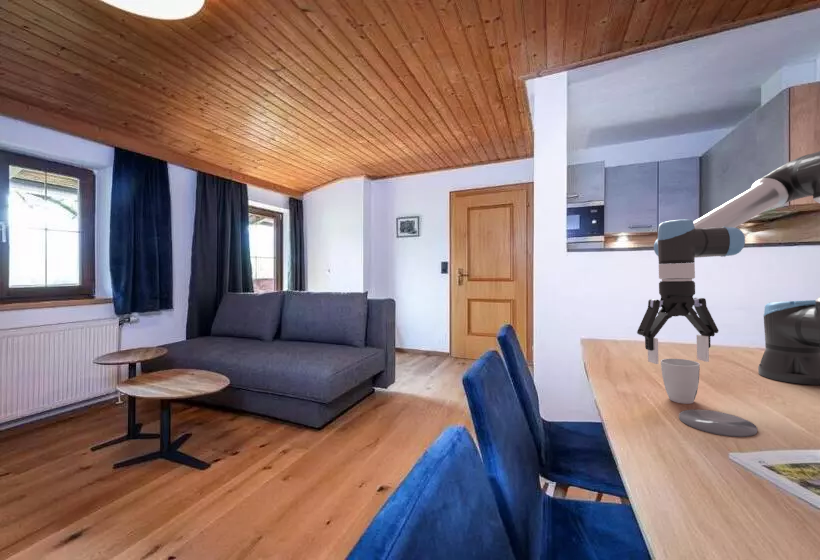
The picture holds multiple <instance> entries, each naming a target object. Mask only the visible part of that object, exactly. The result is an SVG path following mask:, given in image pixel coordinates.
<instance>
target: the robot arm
mask: <svg viewBox="0 0 820 560" xmlns="http://www.w3.org/2000/svg"><path fill="white" fill-rule="evenodd" d="M807 197H813V201H814V202H817V204H820V150H819V151H815V152H812V153H809V154H806V155H802V156H799V157H797V158H795V159H792V160H790V161H788V162H787V163H785V164H783V165H781V166H780V167H778V168H776V169H774V170H772V171H771V172H769V173H768V174H766V175H764V176H763V177H761V178H759V179H758V180H755V182H753V183H752V185H751V187H750V188H749V189H747V190H746V191H743V192H742V193H740V194H738V195H737V196H735V197H734V198H731V199H729V200H728V201H726V202H725V203H722V205H720V206H718V207H716V208H714V209H713V210H711V211H709V212H708V213H706V214H704V215H703V216H701V217H699V218H697V219H695V220H692V219H675V220H668V221H663V222H661V223H660V224H659V225H658V227H657V228H658V229H657V239H656V240H655V241H654V243H653V250H654V253H655V255H656V256H657V258H658V279H659V280H661V281H659V282H658V293H659V295H660V299H653V298H650V299H649V300H648V303H647V308H646V310H645V314H644V315H643V318H642V320H641V323H640V324H639V327H638V329H637V331H636V333H637V335H639V336H642V337H644V342H645V343H644V348H645V350H646V351H647V361H648V362H650V363H652V364H655V365H659V338H657V337H656V336H657V334H659V332H660V331H661V329H662V328H663V327H664V326H665V324H666V323H667V322H668V320H669V319H671V318H672V317H679V316H681V317H685V318H686V319H687V320H688V321H689V322H690V323H691V325H692V326H693V327H694V328H695V330H696V331H697V332H698V333H699V334H696V360H698V361H703V362H706V363H707V362H710V351H709V350H710V348H711V337H715V334H718V333H719V328H718V327H717V324H716V323H715V320H714V318H713V316H712V314H711V313H710V311H709V309H708V306H707V300H706V298H705V297H694V295H695V294H696V282H695V281H694V279H695V278H696V271H695V269H696V268H695V259H696V258H708V257H710V258H711V257H722V258H723V257H724V258H725V257H729V256H731V257H732V256H735V255H737V254H739V253H741V252H742V250H743V249H744V247H745V244H746V236H745V234H744V232H743V231H742V230H741V229H739V228H738V227H739V226H741V225H742V224H744V223H746V222H748V221H749V220H751V219H753V218H755V217H757V216H758V215H760V214H761V213H764V212H765V211H767V210H769V209H771V208H772V209H775V208H779V207H781V206H784V205H785V204H786V203H789V202H791V201H795V200H799V199H803V198H807ZM693 307H694V308H693ZM763 312H764V314H763V325H764V341H765V345H764V346H765V349H764V352H763V355H762V357H761V360H760V362H759V364H758V374H759V375H760V376H762V377H764V378H767V379H770V380H775V381H778V382H779V381H780V382H785V383H792V384H801V385H811V386H812V385H813V386H820V296H819V297H818V298H816V299H809V300H808V299H807V300H788V301H787V300H786V301H772V302H771V301H770V302H768V303H766V304H765V305H764V311H763Z"/></svg>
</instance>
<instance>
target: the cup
mask: <svg viewBox="0 0 820 560" xmlns="http://www.w3.org/2000/svg"><path fill="white" fill-rule="evenodd" d="M700 365H701V363H700V362H698V361H694V360H690V359H686V358H685V359H684V358H663V359H660V367H661V377H662V380H663V385H664V390H665V391H666V394H667V396H668V399H669V400H670V401H672V402H675V403H677V404H685V405H686V404H687V405H688V404H689V405H690V404H693V403H694V402H695V400H696V397H697V394H698V388H699V383H700Z"/></svg>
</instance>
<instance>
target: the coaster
mask: <svg viewBox="0 0 820 560" xmlns="http://www.w3.org/2000/svg"><path fill="white" fill-rule="evenodd" d="M678 418H679V421H680V422H681V423H683V424H685V425H686V426H688V427H690V428H693V429H696V430H699V431H700V432H701V431H702V432H704V433H705V432H706V433H709V434H714V435H720V436H725V437H735V438H746V437H751V436H754V435H755V436H756V434H758V427H757V425H756V424H755V423H754V422H752V421H750V420H748V419H745V418H743V417H740V416H737V415H735V414H730V413H725V412H723V411H716V410H711V409H710V410H709V409H686V410H681V411H680V412H679V413H678Z"/></svg>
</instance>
